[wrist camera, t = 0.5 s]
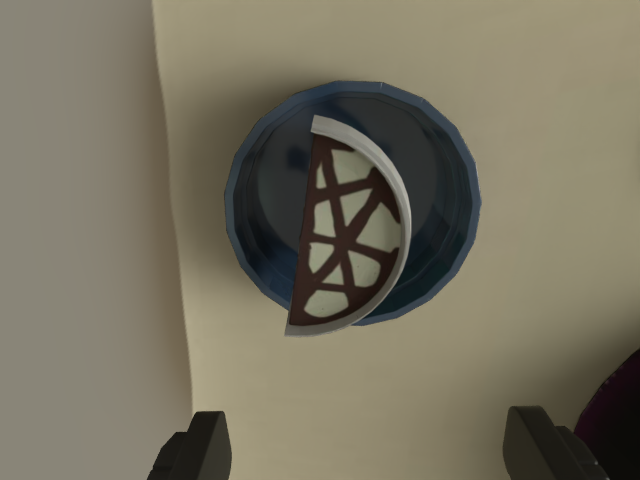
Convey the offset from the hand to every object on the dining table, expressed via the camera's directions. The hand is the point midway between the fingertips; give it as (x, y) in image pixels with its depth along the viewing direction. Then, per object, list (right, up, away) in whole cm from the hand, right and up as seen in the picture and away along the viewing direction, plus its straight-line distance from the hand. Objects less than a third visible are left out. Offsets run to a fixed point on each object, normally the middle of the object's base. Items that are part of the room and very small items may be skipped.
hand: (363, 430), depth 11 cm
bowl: (+1, +9, +19) cm, 21 cm away
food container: (+1, +9, +18) cm, 20 cm away
